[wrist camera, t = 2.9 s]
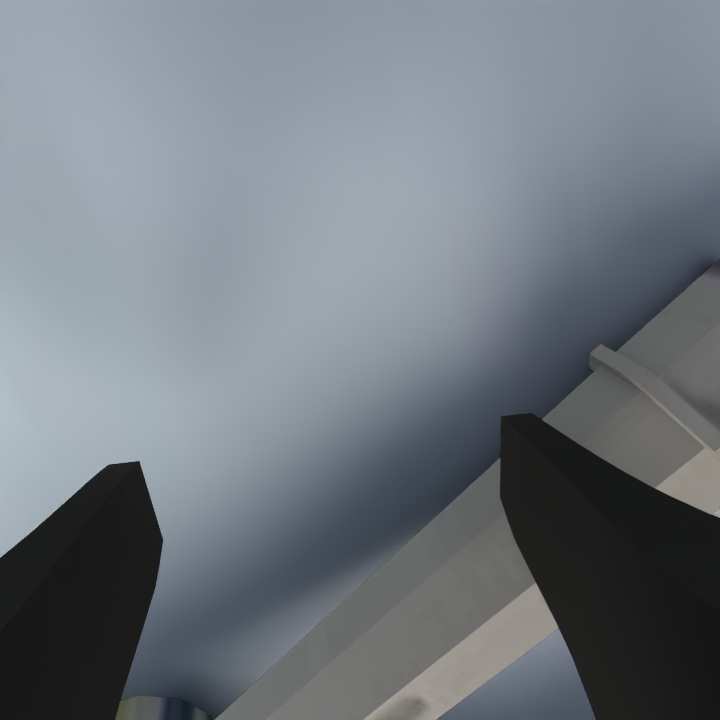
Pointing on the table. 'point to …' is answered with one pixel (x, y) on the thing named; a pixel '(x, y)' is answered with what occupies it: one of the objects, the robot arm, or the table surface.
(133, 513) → the robot arm
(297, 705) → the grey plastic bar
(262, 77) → the table surface
